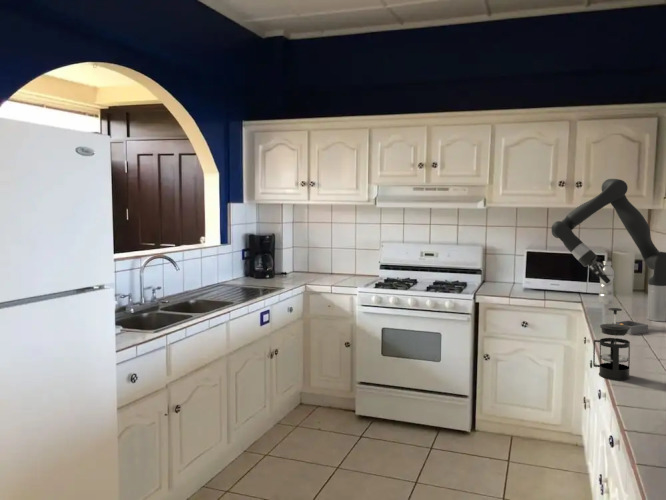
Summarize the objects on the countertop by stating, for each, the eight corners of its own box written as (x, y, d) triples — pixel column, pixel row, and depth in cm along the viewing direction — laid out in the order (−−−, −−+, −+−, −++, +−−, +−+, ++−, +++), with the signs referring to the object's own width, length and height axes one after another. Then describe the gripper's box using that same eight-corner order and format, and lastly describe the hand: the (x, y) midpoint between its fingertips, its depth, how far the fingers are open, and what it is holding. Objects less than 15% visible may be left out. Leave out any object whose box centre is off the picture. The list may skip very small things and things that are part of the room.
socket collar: (628, 328, 258) (628, 319, 257) (647, 332, 248) (648, 323, 248) (612, 330, 254) (612, 321, 254) (630, 334, 245) (630, 325, 244)
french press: (630, 373, 191) (631, 306, 189) (634, 381, 182) (635, 311, 180) (592, 370, 195) (593, 305, 193) (594, 378, 186) (594, 309, 184)
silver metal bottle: (605, 305, 257) (606, 262, 256) (595, 303, 264) (596, 260, 262) (617, 304, 259) (618, 261, 257) (606, 302, 265) (607, 260, 264)
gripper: (585, 250, 258) (613, 277, 252) (594, 248, 270) (621, 274, 263) (573, 261, 262) (600, 288, 256) (582, 258, 273) (608, 284, 267)
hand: (610, 281), depth 259 cm, fingers closed on silver metal bottle, 6 cm apart
